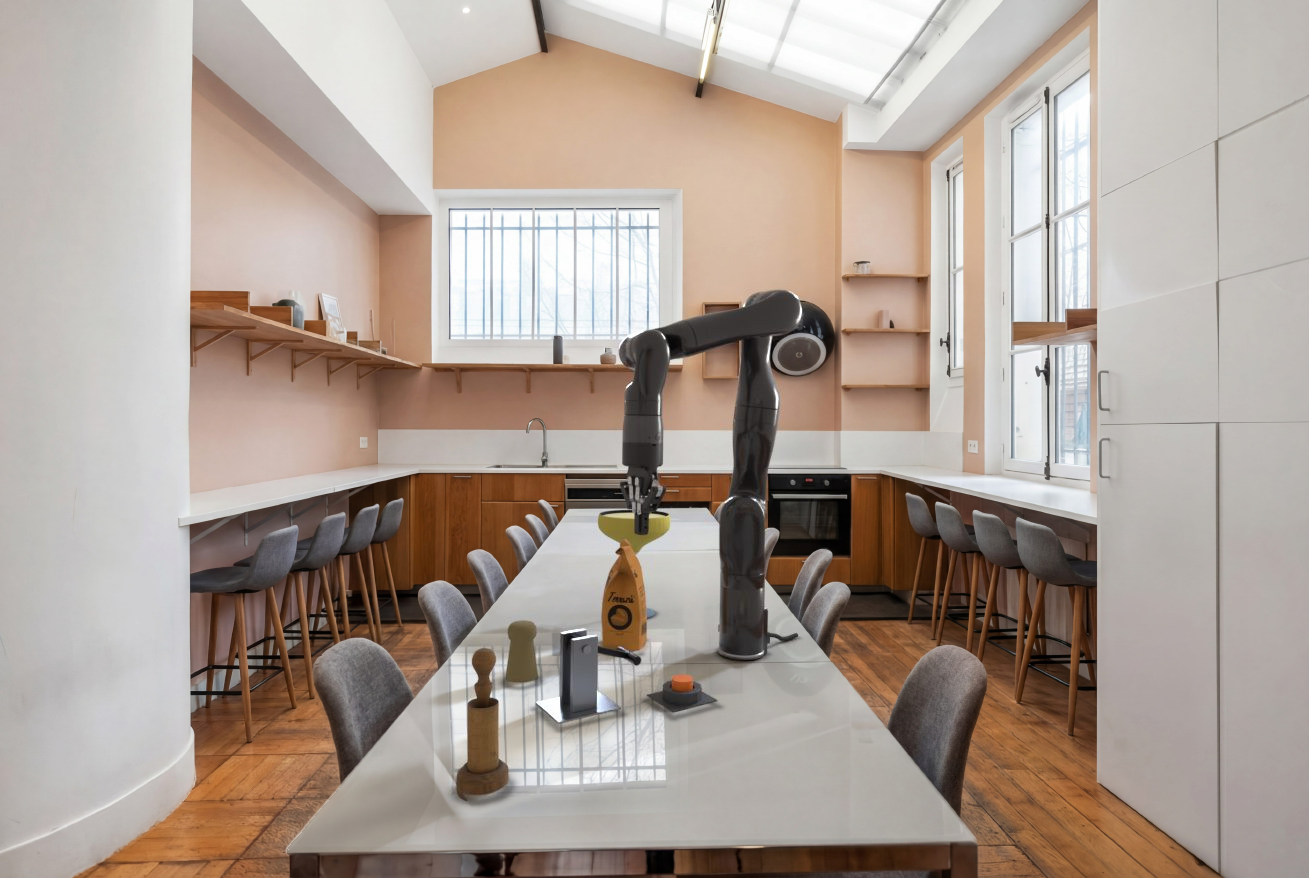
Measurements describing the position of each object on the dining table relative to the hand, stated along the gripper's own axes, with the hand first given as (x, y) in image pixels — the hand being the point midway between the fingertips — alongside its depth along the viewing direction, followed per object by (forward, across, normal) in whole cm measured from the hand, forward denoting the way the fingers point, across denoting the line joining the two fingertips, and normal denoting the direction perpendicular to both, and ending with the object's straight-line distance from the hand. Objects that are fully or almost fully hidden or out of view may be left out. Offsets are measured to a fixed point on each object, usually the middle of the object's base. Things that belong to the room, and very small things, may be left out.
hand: (641, 534), depth 126 cm
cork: (+27, -10, -19) cm, 35 cm away
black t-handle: (+19, +7, -12) cm, 23 cm away
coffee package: (+27, -18, +7) cm, 33 cm away
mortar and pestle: (+27, +22, -37) cm, 51 cm away
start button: (+24, +13, 0) cm, 28 cm away
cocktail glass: (+27, -39, +22) cm, 52 cm away
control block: (+27, +13, 0) cm, 30 cm away
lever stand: (+27, +7, -16) cm, 32 cm away
